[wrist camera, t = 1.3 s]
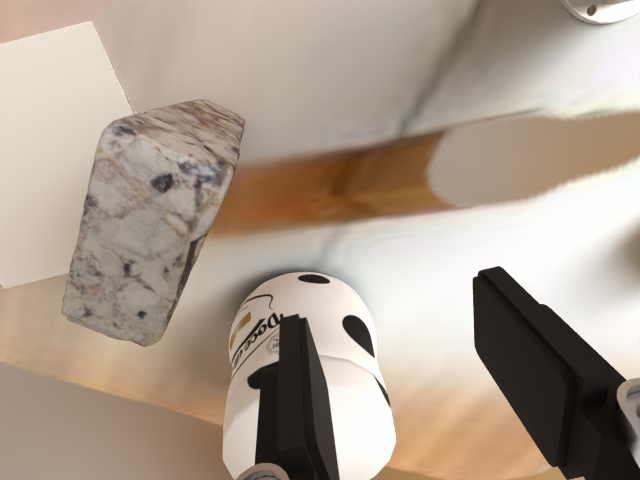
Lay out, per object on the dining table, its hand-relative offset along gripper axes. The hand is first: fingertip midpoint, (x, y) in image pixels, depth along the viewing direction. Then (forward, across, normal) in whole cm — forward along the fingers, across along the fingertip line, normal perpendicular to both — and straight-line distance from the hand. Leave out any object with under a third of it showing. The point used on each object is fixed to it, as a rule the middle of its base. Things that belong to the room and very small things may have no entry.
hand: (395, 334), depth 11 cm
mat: (+29, +28, -3) cm, 40 cm away
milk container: (+30, +7, +22) cm, 38 cm away
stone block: (+29, +12, 0) cm, 32 cm away
